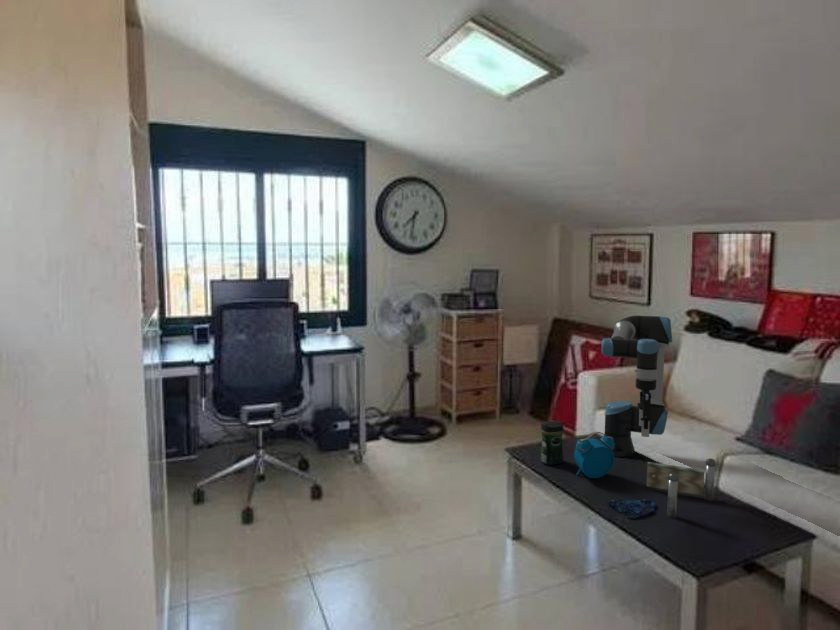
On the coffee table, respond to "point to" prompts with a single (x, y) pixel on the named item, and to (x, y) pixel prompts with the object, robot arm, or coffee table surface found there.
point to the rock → (632, 506)
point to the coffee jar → (551, 442)
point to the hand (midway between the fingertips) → (643, 431)
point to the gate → (688, 477)
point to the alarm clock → (594, 456)
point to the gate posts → (674, 486)
